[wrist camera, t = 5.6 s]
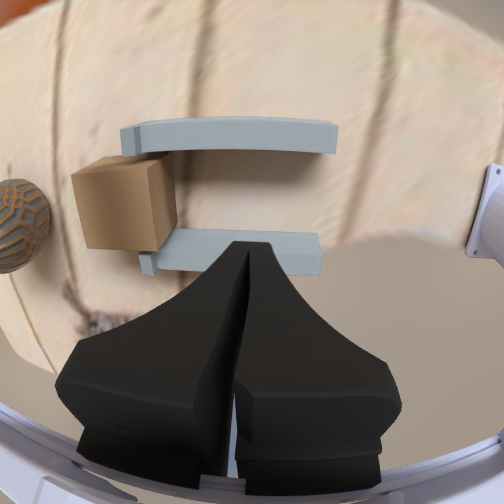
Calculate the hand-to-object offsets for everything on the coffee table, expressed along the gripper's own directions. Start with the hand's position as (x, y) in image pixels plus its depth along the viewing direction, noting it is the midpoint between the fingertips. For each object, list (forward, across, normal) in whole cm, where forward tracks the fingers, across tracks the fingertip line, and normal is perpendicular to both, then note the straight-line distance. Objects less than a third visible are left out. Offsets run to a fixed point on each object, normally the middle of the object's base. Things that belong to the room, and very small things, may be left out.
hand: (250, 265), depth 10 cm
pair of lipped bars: (+9, +2, 0) cm, 9 cm away
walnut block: (+9, +8, 0) cm, 12 cm away
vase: (+9, +19, +1) cm, 21 cm away
